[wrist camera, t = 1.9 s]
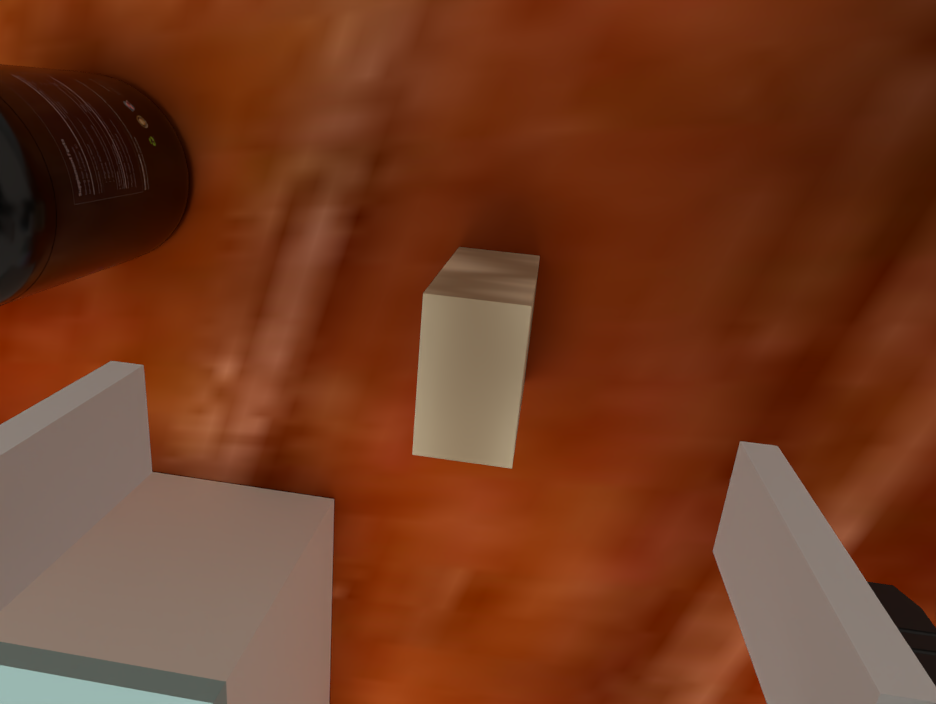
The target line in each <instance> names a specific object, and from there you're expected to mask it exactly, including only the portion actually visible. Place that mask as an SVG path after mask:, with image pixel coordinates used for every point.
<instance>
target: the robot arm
mask: <svg viewBox="0 0 936 704" xmlns="http://www.w3.org/2000/svg"><path fill="white" fill-rule="evenodd" d="M151 473H152V461H151V449H150V437H149V425H148V412H147V400H146V388H145V376H144V365H139V364H131V363H123V362H116V361H110V362H109V363H107V364H105V365H103V366H102V367H100V368H98V369H96V370H95V371H93V372H91V373H90V374H88V375H86V376H84V377H83V378H81V379H79V380H77V381H76V382H74V383H72V384H70V385H69V386H67V387H65V388H63V389H62V390H60V391H58V392H56V393H55V394H53V395H51V396H50V397H48V398H46V399H44V400H43V401H41V402H39V403H37V404H36V405H34V406H32V407H30V408H29V409H27V410H25V411H23V412H22V413H20V414H18V415H17V416H15V417H13V418H11V419H10V420H8V421H6V422H4V423H3V424H1V425H0V611H1V610H2V609H3V608H4V607H5V606H7V605H8V604H9V603H10V602H11V601H12V600H13V599H14V598H15V597H16V596H17V595H19V594H20V593H21V592H22V591H23V590H24V589H25V588H26V587H27V586H28V585H30V584H31V583H32V582H33V581H34V580H35V579H36V578H37V577H38V576H39V575H41V574H42V573H43V572H44V571H45V570H46V569H47V568H48V567H49V566H50V565H51V564H53V563H54V562H55V561H56V560H57V559H58V558H59V557H60V556H61V555H62V554H64V553H65V552H66V551H67V550H68V549H69V548H70V547H71V546H72V545H73V544H75V543H76V542H77V541H78V540H79V539H80V538H81V537H82V536H83V535H84V534H85V533H87V532H88V531H89V530H90V529H91V528H92V527H93V526H94V525H95V524H96V523H98V522H99V521H100V520H101V519H102V518H103V517H104V516H105V515H106V514H107V513H108V512H110V511H111V510H112V509H113V508H114V507H115V506H116V505H117V504H118V503H119V502H121V501H122V500H123V499H124V498H125V497H126V496H127V495H128V494H129V493H130V492H132V491H133V490H134V489H135V488H136V487H137V486H138V485H139V484H140V483H141V482H142V481H144V480H145V479H146V478H147V477H148V476H149V475H150V474H151ZM713 553H714V556H715V559H716V562H717V564H718V567H719V570H720V573H721V576H722V579H723V581H724V584H725V587H726V590H727V593H728V595H729V598H730V601H731V604H732V607H733V609H734V612H735V615H736V618H737V621H738V623H739V626H740V629H741V632H742V635H743V637H744V640H745V643H746V646H747V649H748V651H749V654H750V657H751V660H752V663H753V665H754V668H755V671H756V674H757V677H758V680H759V682H760V685H761V688H762V691H763V694H764V696H765V699H766V702H767V704H936V628H935V626H934V625H933V624H932V622H931V621H930V619H929V618H928V617H927V615H926V614H925V613H924V611H923V610H922V609H921V608H920V607H919V606H918V605H916V604H915V603H914V602H913V601H912V600H910V599H909V598H908V597H907V596H905V595H904V594H903V593H902V592H900V591H899V590H898V589H897V588H896V587H894V586H893V585H886V584H879V583H872V582H867V581H866V580H865V578H864V577H863V575H862V574H861V572H860V571H859V569H858V568H857V566H856V564H855V563H854V561H853V560H852V558H851V557H850V555H849V554H848V552H847V551H846V549H845V548H844V546H843V545H842V543H841V542H840V540H839V539H838V537H837V536H836V534H835V533H834V531H833V530H832V528H831V526H830V525H829V523H828V522H827V520H826V519H825V517H824V516H823V514H822V513H821V511H820V510H819V508H818V507H817V505H816V504H815V502H814V501H813V499H812V498H811V496H810V495H809V493H808V491H807V490H806V488H805V487H804V485H803V484H802V482H801V481H800V479H799V478H798V476H797V475H796V473H795V472H794V470H793V469H792V467H791V466H790V464H789V463H788V461H787V460H786V458H785V457H784V455H783V453H782V452H781V450H780V449H779V447H778V446H774V445H766V444H758V443H750V442H743V441H740V443H739V447H738V451H737V456H736V460H735V464H734V468H733V472H732V476H731V480H730V484H729V488H728V492H727V496H726V500H725V504H724V508H723V512H722V516H721V520H720V524H719V528H718V532H717V536H716V540H715V544H714V548H713Z"/></svg>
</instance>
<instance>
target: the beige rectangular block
mask: <svg viewBox="0 0 936 704" xmlns="http://www.w3.org/2000/svg"><path fill="white" fill-rule="evenodd" d="M539 260H540V256H537V255H528V254H519V253H510V252H501V251H492V250H483V249H474V248H465V247H459V248H458V249H457V250H456V252H455V253H454V254H453V255H452V257H451V258H450V259H449V261H448V262H447V263H446V264H445V266H444V267H443V268H442V270H441V271H440V272H439V273H438V275H437V276H436V277H435V279H434V280H433V281H432V282H431V284H430V285H429V286H428V288H427V289H426V290H425V291H424V293H423V302H422V317H421V332H420V347H419V362H418V377H417V393H416V408H415V423H414V438H413V453H412V455H419V456H426V457H434V458H441V459H448V460H455V461H462V462H469V463H476V464H483V465H490V466H497V467H504V468H511V469H512V465H513V458H514V451H515V444H516V437H517V430H518V423H519V416H520V409H521V403H522V396H523V389H524V382H525V374H526V366H527V358H528V349H529V341H530V333H531V325H532V317H533V309H534V301H535V293H536V285H537V277H538V268H539Z"/></svg>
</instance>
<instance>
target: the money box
mask: <svg viewBox="0 0 936 704" xmlns="http://www.w3.org/2000/svg"><path fill="white" fill-rule="evenodd" d="M333 534H334V499H331V498H324V497H318V496H311V495H304V494H298V493H291V492H284V491H277V490H271V489H264V488H257V487H251V486H244V485H237V484H230V483H224V482H217V481H210V480H204V479H197V478H190V477H183V476H177V475H170V474H163V473H157V472H152V473H151V474H150V475H149V476H148V477H147V478H146V479H145V480H144V481H142V482H141V483H140V484H139V485H138V486H137V487H136V488H135V489H134V490H133V491H132V492H130V493H129V494H128V495H127V496H126V497H125V498H124V499H123V500H122V501H121V502H119V503H118V504H117V505H116V506H115V507H114V508H113V509H112V510H111V511H110V512H108V513H107V514H106V515H105V516H104V517H103V518H102V519H101V520H100V521H99V522H98V523H96V524H95V525H94V526H93V527H92V528H91V529H90V530H89V531H88V532H87V533H85V534H84V535H83V536H82V537H81V538H80V539H79V540H78V541H77V542H76V543H75V544H73V545H72V546H71V547H70V548H69V549H68V550H67V551H66V552H65V553H64V554H62V555H61V556H60V557H59V558H58V559H57V560H56V561H55V562H54V563H53V564H51V565H50V566H49V567H48V568H47V569H46V570H45V571H44V572H43V573H42V574H41V575H39V576H38V577H37V578H36V579H35V580H34V581H33V582H32V583H31V584H30V585H28V586H27V587H26V588H25V589H24V590H23V591H22V592H21V593H20V594H19V595H17V596H16V597H15V598H14V599H13V600H12V601H11V602H10V603H9V604H8V605H7V606H5V607H4V608H3V609H2V610H1V611H0V704H329V701H330V659H331V618H332V576H333Z"/></svg>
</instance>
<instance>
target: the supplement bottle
mask: <svg viewBox="0 0 936 704" xmlns="http://www.w3.org/2000/svg"><path fill="white" fill-rule="evenodd" d="M188 190H189V176H188V167H187V162H186V158H185V154H184V151H183V148H182V145H181V143H180V140H179V138H178V136H177V134H176V132H175V130H174V129H173V127H172V125H171V124H170V122H169V121H168V119H167V118H166V117H165V115H164V114H163V113H162V112H161V110H160V109H159V108H158V107H157V106H156V105H155V104H154V103H153V102H152V101H151V100H150V99H148V98H147V97H146V96H145V95H143V94H142V93H141V92H139V91H138V90H136V89H135V88H133V87H132V86H130V85H128V84H126V83H124V82H122V81H120V80H117V79H115V78H112V77H108V76H105V75H101V74H95V73H88V72H79V71H70V70H59V69H48V68H36V67H25V66H13V65H2V64H0V306H1V305H4V304H7V303H10V302H13V301H15V300H18V299H21V298H24V297H27V296H30V295H33V294H35V293H38V292H41V291H44V290H47V289H50V288H52V287H55V286H58V285H61V284H64V283H67V282H70V281H72V280H75V279H78V278H81V277H84V276H87V275H89V274H92V273H95V272H98V271H101V270H104V269H107V268H109V267H112V266H115V265H118V264H121V263H124V262H126V261H129V260H131V259H134V258H136V257H139V256H142V255H144V254H146V253H148V252H150V251H152V250H154V249H155V248H157V247H158V246H160V245H161V244H162V243H163V242H164V241H166V240H167V239H168V237H169V236H170V235H171V234H172V233H173V231H174V230H175V229H176V227H177V226H178V224H179V222H180V220H181V218H182V216H183V213H184V210H185V207H186V203H187V198H188Z"/></svg>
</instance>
